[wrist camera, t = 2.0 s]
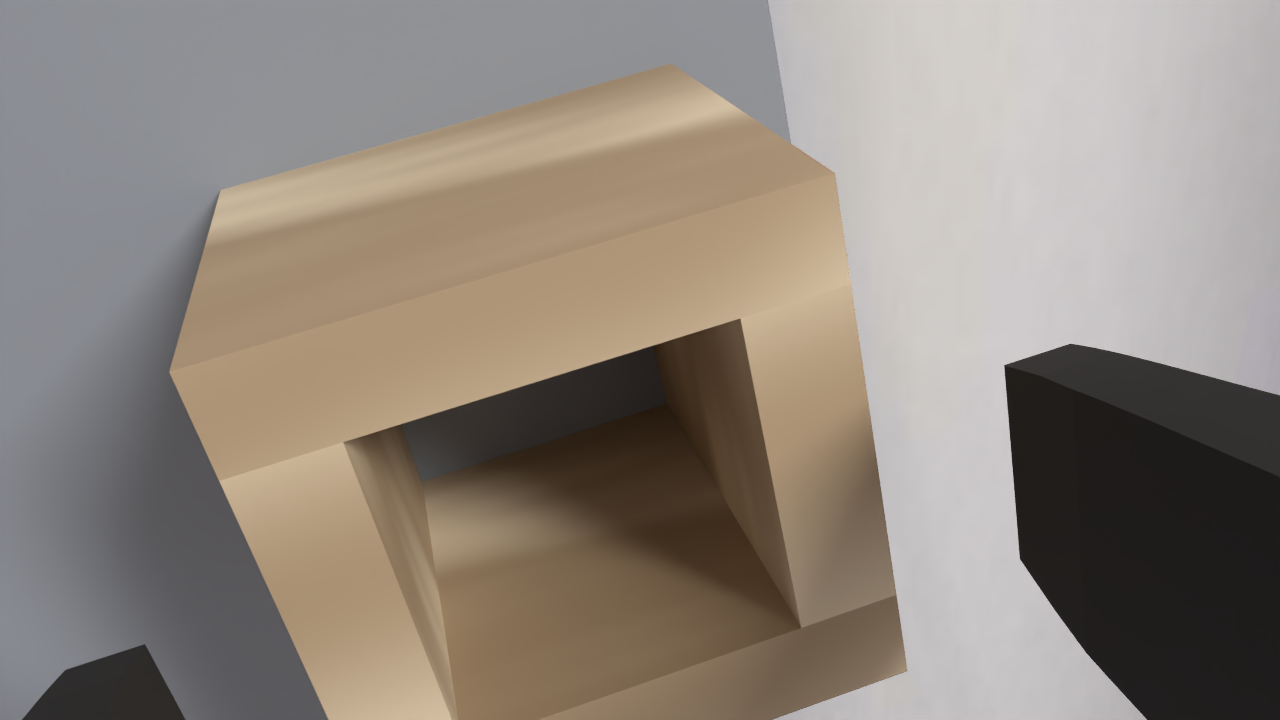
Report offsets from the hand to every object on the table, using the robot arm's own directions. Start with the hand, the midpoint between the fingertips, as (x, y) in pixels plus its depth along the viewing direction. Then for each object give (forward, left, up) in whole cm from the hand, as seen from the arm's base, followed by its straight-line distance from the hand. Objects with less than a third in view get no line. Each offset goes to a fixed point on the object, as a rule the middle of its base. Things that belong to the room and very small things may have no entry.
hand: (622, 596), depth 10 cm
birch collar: (0, 0, -6) cm, 6 cm away
